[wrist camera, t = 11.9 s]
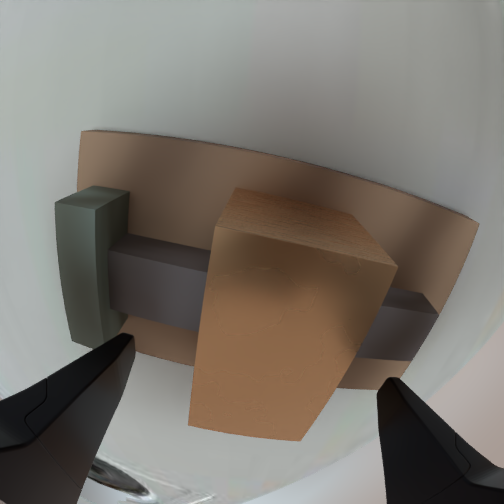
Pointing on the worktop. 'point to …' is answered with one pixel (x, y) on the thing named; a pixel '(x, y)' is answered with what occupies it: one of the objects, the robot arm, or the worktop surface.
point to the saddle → (282, 314)
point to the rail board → (201, 237)
